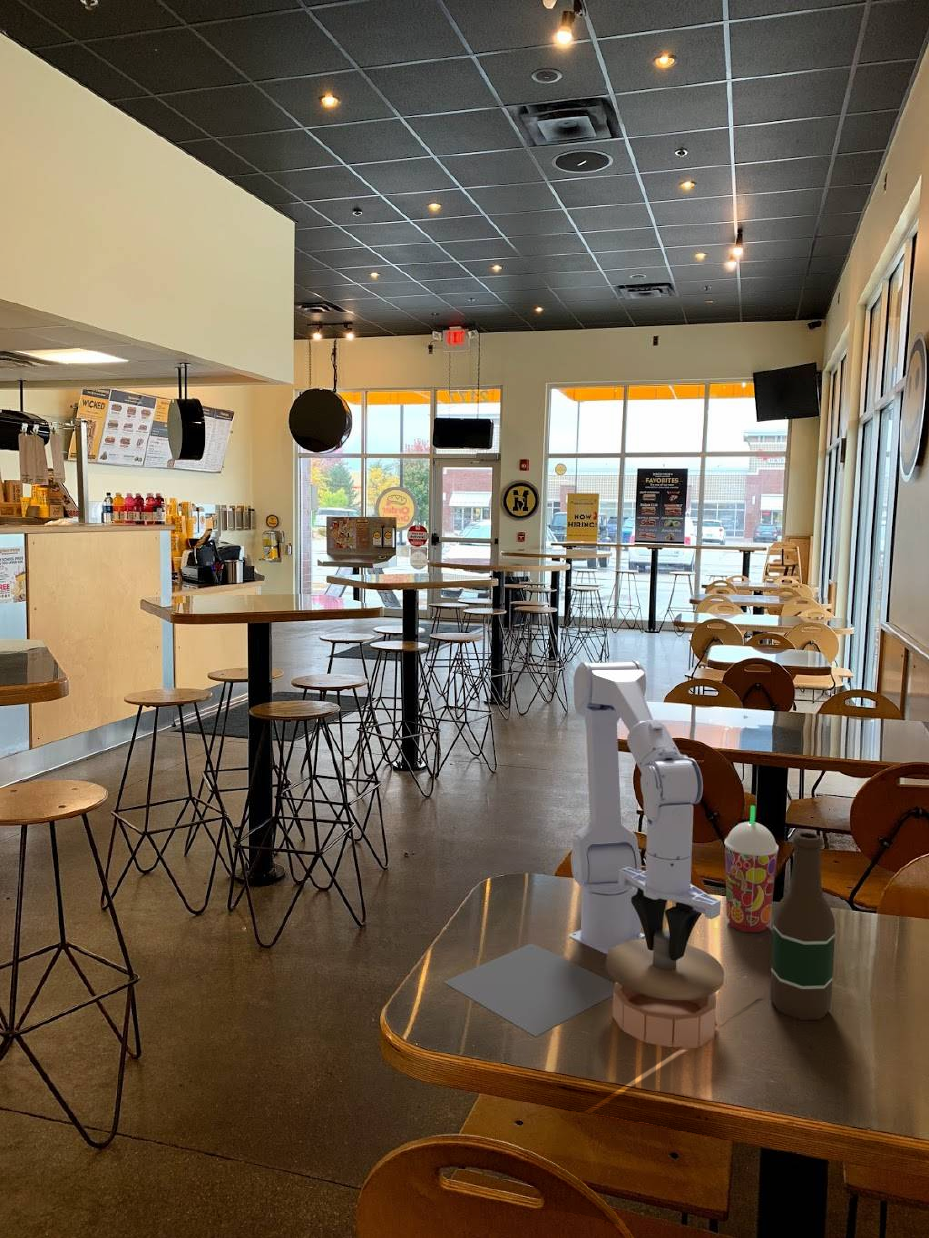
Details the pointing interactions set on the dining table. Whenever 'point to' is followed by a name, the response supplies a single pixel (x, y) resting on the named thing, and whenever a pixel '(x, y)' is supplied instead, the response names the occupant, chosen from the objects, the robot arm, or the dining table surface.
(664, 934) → the lid
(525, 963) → the mat
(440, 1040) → the dining table surface
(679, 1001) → the bowl
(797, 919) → the beer bottle
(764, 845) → the smoothie
